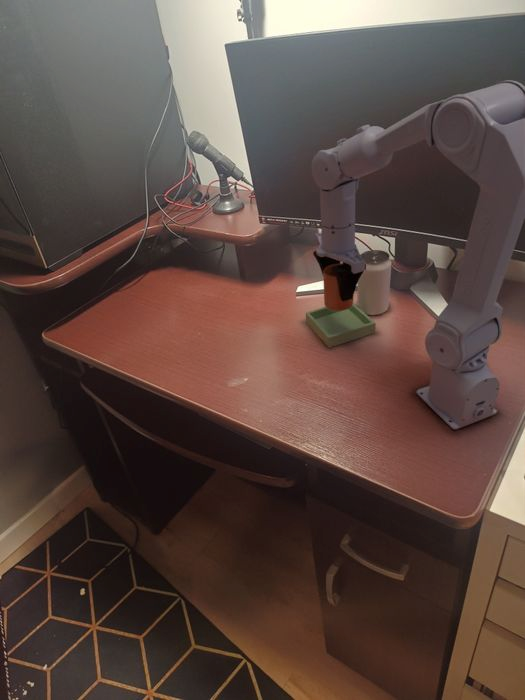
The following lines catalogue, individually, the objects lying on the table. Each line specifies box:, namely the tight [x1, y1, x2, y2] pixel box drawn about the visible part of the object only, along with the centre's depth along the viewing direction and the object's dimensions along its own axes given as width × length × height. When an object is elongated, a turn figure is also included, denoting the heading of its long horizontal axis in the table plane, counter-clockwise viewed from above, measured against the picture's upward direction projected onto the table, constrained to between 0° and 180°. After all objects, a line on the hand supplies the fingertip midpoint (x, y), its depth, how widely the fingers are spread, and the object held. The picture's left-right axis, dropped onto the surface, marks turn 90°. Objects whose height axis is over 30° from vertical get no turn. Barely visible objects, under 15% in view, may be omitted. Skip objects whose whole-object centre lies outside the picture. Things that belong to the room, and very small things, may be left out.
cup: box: [322, 262, 354, 311], centre depth 86 cm, size 5×5×7 cm
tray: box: [305, 302, 377, 348], centre depth 93 cm, size 10×10×2 cm
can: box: [356, 249, 392, 316], centre depth 94 cm, size 6×6×12 cm
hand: (338, 292), depth 86 cm, fingers closed on cup, 5 cm apart
